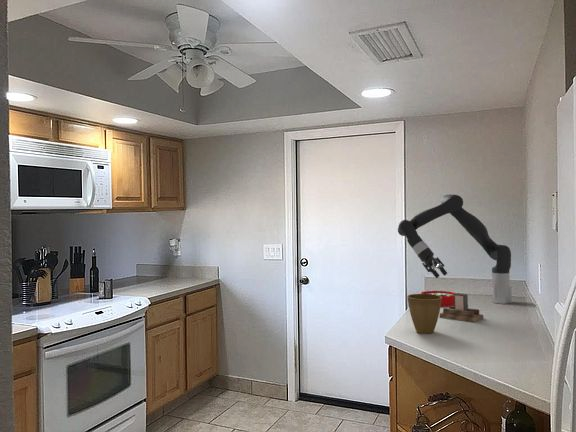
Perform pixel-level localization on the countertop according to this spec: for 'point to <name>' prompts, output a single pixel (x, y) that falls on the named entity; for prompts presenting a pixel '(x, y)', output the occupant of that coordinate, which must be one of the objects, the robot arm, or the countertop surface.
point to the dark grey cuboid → (461, 301)
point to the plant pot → (424, 311)
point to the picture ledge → (461, 314)
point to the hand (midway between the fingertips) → (442, 275)
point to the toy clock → (443, 297)
